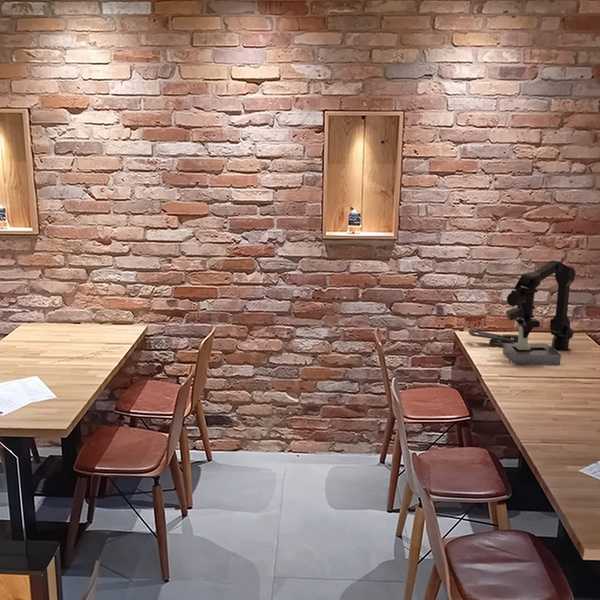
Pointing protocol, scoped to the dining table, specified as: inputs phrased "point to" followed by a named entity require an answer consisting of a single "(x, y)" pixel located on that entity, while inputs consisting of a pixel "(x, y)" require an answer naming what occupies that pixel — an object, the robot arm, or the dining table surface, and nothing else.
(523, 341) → the headed peg
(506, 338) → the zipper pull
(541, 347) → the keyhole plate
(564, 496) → the dining table surface
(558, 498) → the dining table surface
